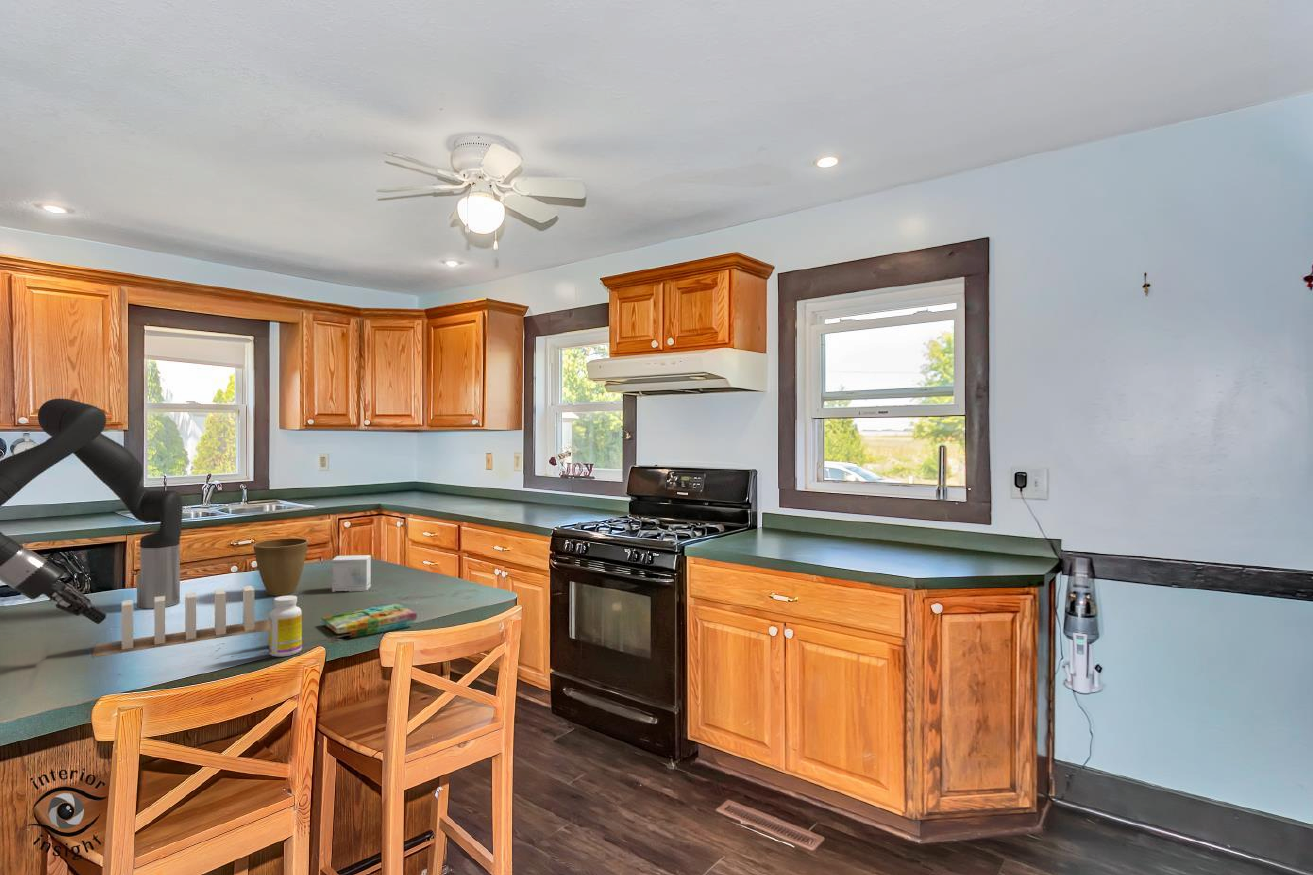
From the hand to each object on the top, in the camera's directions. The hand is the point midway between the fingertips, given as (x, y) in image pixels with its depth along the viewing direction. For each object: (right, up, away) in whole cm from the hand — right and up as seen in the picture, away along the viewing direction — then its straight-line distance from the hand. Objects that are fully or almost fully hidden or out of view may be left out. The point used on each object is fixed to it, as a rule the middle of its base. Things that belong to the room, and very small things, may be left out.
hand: (102, 619), depth 151 cm
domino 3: (+13, -7, +10) cm, 18 cm away
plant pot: (+9, -7, +56) cm, 58 cm away
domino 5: (+23, -7, +17) cm, 29 cm away
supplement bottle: (+40, -9, +3) cm, 41 cm away
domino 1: (+4, -7, +3) cm, 8 cm away
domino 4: (+18, -7, +13) cm, 23 cm away
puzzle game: (+51, -9, +22) cm, 56 cm away
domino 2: (+8, -7, +6) cm, 12 cm away
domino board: (+13, -8, +10) cm, 18 cm away
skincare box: (+28, -7, +62) cm, 69 cm away
